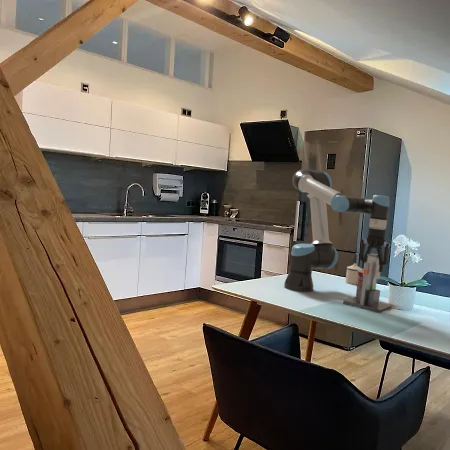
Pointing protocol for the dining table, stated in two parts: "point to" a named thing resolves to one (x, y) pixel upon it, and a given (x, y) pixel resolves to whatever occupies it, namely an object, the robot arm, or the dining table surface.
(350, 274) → the teacup with lid
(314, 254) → the robot arm
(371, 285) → the column
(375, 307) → the stand
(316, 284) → the dining table surface
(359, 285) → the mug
